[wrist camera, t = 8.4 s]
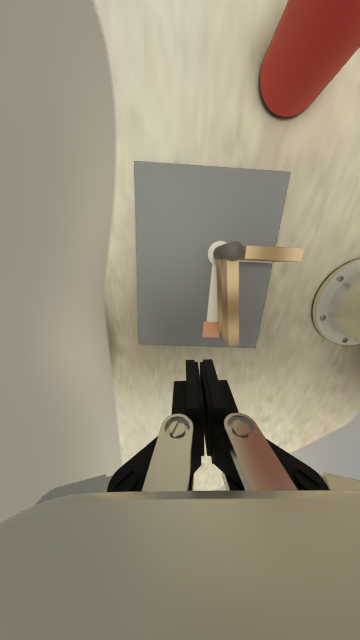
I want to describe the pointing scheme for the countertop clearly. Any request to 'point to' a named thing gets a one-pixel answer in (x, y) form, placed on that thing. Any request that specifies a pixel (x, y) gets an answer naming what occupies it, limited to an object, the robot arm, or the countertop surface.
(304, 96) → the beer can
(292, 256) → the bar
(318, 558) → the robot arm
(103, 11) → the countertop surface
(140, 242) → the card
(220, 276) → the fence gate
